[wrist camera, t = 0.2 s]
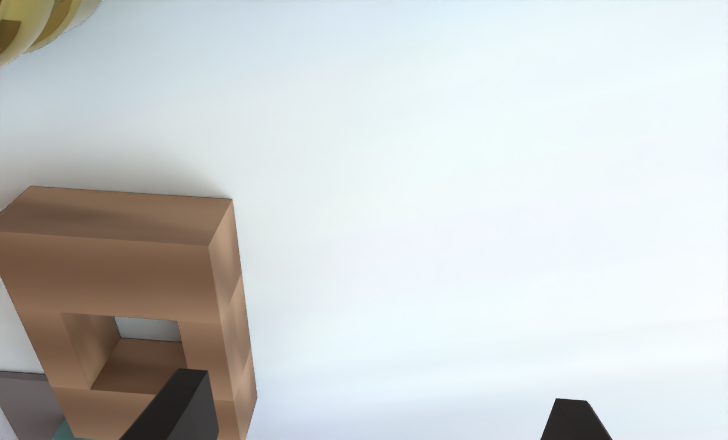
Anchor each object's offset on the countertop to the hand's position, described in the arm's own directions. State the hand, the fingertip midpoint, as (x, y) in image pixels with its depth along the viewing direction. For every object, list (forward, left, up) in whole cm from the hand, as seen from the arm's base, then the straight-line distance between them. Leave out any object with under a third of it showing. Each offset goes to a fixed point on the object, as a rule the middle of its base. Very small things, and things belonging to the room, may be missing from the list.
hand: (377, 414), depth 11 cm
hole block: (-7, +10, -10) cm, 16 cm away
